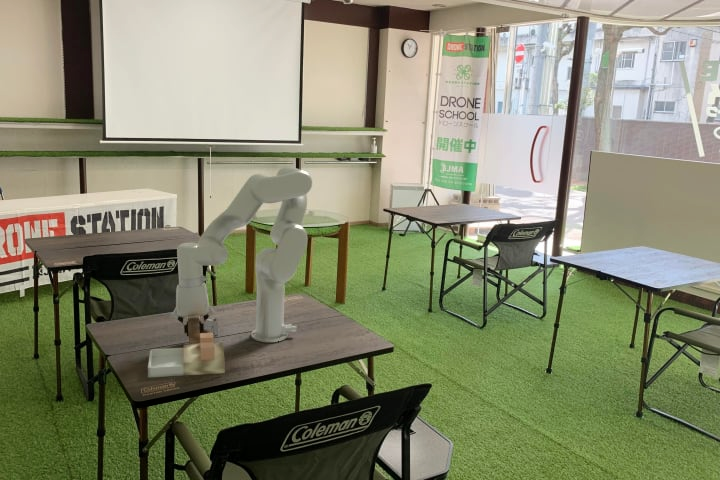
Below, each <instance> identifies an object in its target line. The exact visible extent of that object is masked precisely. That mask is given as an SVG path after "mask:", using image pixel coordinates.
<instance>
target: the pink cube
mask: <svg viewBox="0 0 720 480" xmlns="http://www.w3.org/2000/svg"><path fill="white" fill-rule="evenodd" d="M211 342H214V334H213V333H212V332H202V333H200V343H199V344H200V350H201V343H211Z"/></svg>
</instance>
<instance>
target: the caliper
mask: <svg viewBox="0 0 720 480" xmlns="http://www.w3.org/2000/svg"><path fill="white" fill-rule="evenodd" d="M199 321H200V317H199ZM204 325H206V327H207V328H210V330H211V333H213V335H214V336H218V335H219V325H218V321H217V318H216V317H212V318H208V319H207V320H206V321H205V322H204Z"/></svg>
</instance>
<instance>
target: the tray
mask: <svg viewBox="0 0 720 480" xmlns="http://www.w3.org/2000/svg"><path fill="white" fill-rule="evenodd" d="M183 361H184V347H172V348H171V347H170V348H153V349H150V351H149V356H148V364H147V378H162V377H179V376H185V375H184V365H183Z"/></svg>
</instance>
